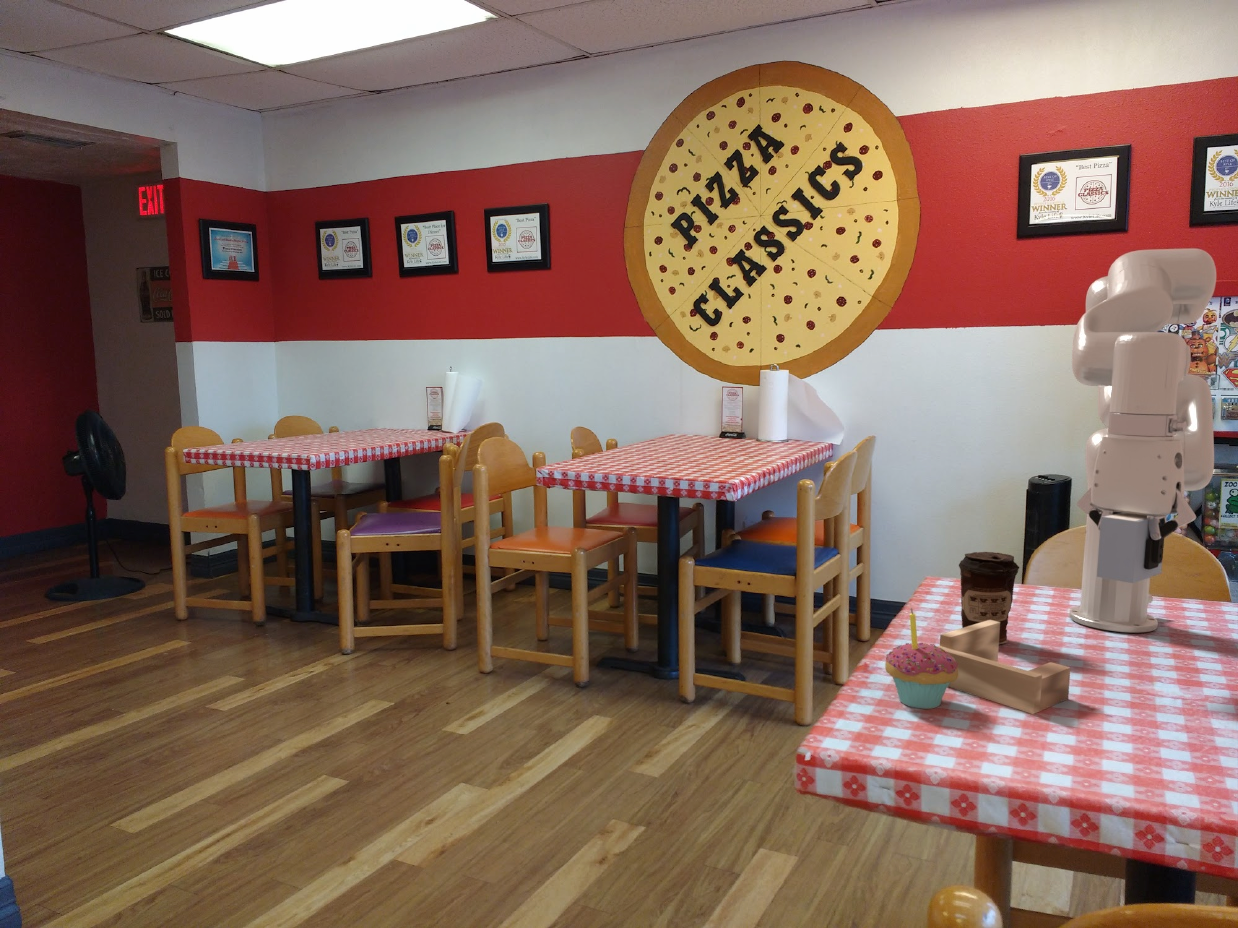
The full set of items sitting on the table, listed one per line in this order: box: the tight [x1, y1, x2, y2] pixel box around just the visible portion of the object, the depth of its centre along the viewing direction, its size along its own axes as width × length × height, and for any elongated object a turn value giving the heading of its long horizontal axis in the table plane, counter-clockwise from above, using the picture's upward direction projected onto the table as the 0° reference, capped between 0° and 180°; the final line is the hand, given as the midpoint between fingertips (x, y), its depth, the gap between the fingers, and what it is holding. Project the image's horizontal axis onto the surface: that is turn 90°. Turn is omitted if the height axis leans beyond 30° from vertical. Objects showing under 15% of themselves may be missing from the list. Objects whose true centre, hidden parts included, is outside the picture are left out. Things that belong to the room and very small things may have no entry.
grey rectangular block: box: [1097, 512, 1163, 583], centre depth 122 cm, size 9×4×8 cm, turn 129°
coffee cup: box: [958, 551, 1020, 645], centre depth 137 cm, size 9×8×13 cm
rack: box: [937, 620, 1071, 715], centre depth 118 cm, size 14×14×6 cm
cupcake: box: [884, 607, 958, 710], centre depth 112 cm, size 9×8×12 cm
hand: (1130, 562), depth 122 cm, fingers closed on grey rectangular block, 4 cm apart
